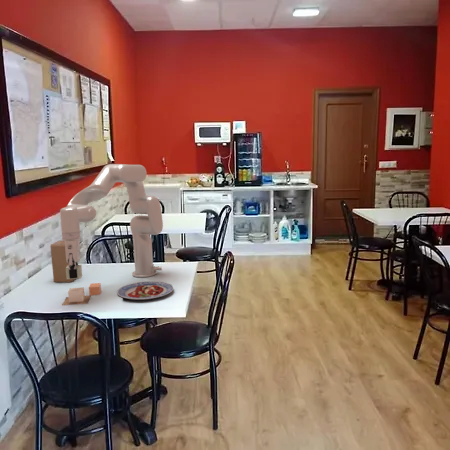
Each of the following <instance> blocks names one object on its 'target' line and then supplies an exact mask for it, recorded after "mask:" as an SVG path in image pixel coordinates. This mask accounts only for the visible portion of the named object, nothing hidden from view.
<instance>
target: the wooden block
mask: <svg viewBox="0 0 450 450" xmlns="http://www.w3.org/2000/svg"><path fill="white" fill-rule="evenodd" d="M50 255H51V256H50V257H51V267H52V278H53V282H55V283H72V282H74V281H75V280H76V279H67V278H66V267H67V266H69V263H67V261H66V251H65V240H58V241H55V242H53V243H51V244H50Z"/></svg>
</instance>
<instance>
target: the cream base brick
mask: <svg viewBox="0 0 450 450" xmlns="http://www.w3.org/2000/svg"><path fill="white" fill-rule="evenodd" d="M67 295H68V296H67V297H69V302H81V301H84V298H85V297H84V296H85V288H84V287H71V288H69V289H68V290H67Z"/></svg>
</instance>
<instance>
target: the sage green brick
mask: <svg viewBox="0 0 450 450" xmlns="http://www.w3.org/2000/svg"><path fill="white" fill-rule="evenodd" d="M82 268H83V266H82V264H78V265H76V269H77V278H71V279H75V280H76V279H81V278H82V277H83V269H82ZM66 278H67V279H70V277H69V266H67V267H66Z"/></svg>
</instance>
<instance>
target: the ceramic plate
mask: <svg viewBox="0 0 450 450" xmlns="http://www.w3.org/2000/svg"><path fill="white" fill-rule="evenodd" d="M173 290H174V286H173V285H172V284H170V283H167V282H163V281H155V280H154V281H153V280H152V281H139V282H134V283H128V284H127V285H123V286H122V287H120V288H118V290H117V291H116V294H117V295H118V296H119V297H121V298H123V299H128V300H138V301H139V300H140V301H141V300H142V301H143V300H151V299H157V298H160V297H164V296H167V295H169V294H171V293H172V292H173Z"/></svg>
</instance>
